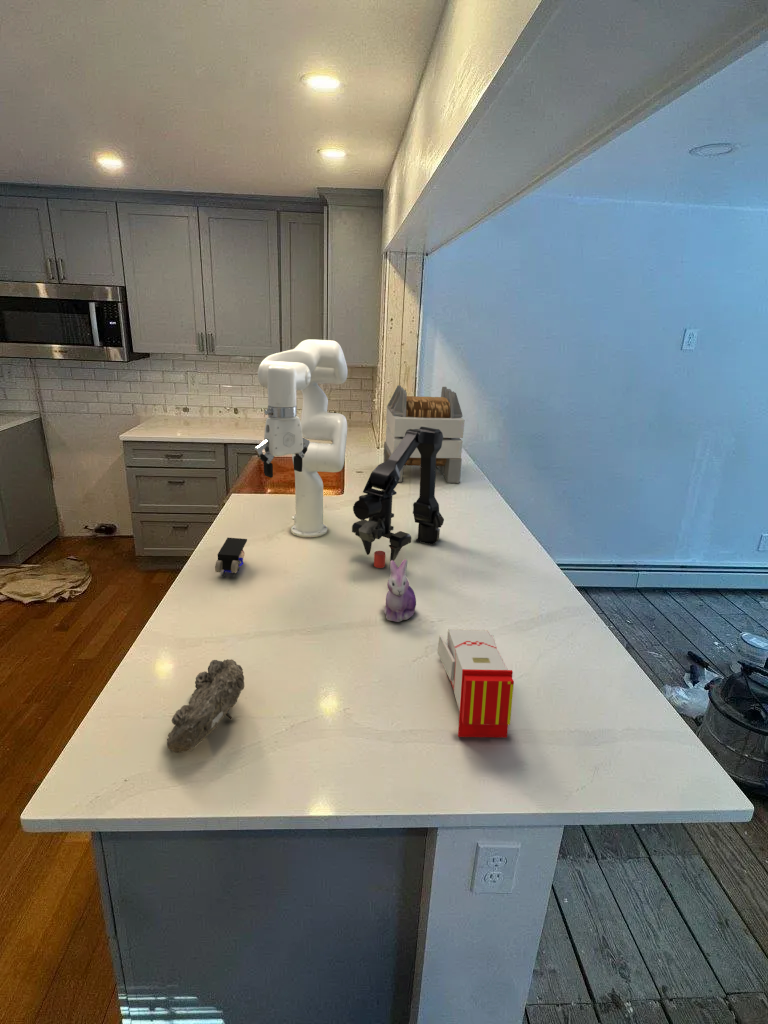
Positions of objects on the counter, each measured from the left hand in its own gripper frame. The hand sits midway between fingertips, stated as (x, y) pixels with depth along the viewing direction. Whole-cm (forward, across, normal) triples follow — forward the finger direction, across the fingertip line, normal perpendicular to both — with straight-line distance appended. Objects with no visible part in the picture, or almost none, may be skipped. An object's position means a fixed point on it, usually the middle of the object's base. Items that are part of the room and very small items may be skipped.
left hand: (283, 473), depth 158 cm
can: (+30, +24, -15) cm, 42 cm away
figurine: (+30, +8, -40) cm, 50 cm away
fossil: (+30, -47, -44) cm, 71 cm away
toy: (+30, -3, -71) cm, 78 cm away
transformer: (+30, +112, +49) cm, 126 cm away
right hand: (+28, +25, -15) cm, 40 cm away
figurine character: (+30, -12, +10) cm, 34 cm away
